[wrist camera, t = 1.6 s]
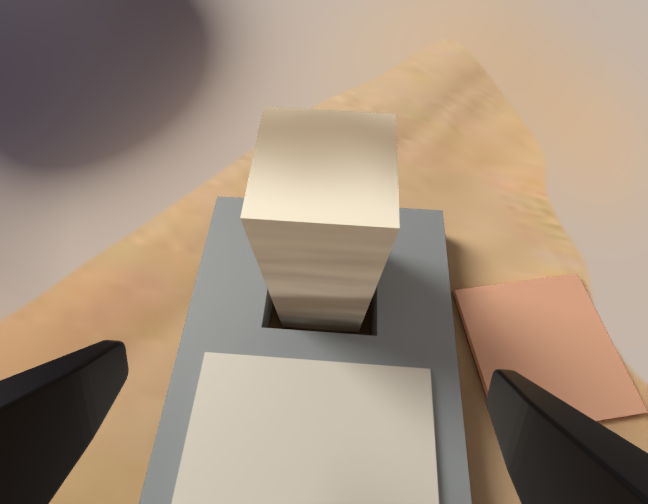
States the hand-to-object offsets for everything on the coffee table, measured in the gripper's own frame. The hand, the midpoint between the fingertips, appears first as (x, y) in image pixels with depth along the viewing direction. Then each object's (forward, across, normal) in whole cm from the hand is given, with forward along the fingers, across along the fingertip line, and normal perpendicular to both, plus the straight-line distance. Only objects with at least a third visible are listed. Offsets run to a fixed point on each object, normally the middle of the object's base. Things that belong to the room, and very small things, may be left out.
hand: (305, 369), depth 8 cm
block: (+12, 0, +4) cm, 13 cm away
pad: (+11, -13, +6) cm, 18 cm away
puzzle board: (+8, 0, +8) cm, 12 cm away
